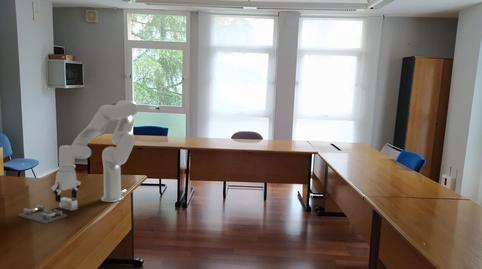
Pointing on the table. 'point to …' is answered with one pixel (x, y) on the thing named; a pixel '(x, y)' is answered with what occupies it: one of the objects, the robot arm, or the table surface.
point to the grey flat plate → (38, 216)
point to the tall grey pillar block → (68, 203)
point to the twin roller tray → (44, 216)
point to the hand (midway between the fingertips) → (66, 199)
